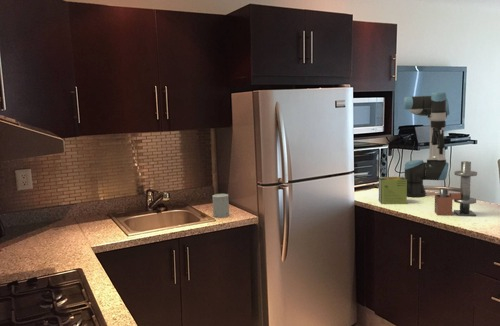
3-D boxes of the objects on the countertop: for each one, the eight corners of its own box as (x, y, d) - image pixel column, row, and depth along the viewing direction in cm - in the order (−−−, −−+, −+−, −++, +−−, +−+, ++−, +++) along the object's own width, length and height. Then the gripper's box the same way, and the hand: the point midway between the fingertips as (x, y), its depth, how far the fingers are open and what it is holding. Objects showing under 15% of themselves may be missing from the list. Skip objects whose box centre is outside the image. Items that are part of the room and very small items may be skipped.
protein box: (407, 204, 262) (407, 179, 260) (381, 204, 264) (381, 179, 262) (403, 200, 272) (403, 176, 270) (378, 200, 274) (378, 176, 272)
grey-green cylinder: (216, 218, 246) (215, 197, 244) (211, 215, 254) (210, 194, 253) (231, 216, 249) (230, 195, 248) (226, 212, 258) (225, 193, 256)
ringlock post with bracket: (433, 211, 243) (434, 160, 239) (472, 211, 239) (474, 160, 235) (438, 216, 232) (439, 163, 229) (478, 216, 228) (480, 163, 224)
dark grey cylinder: (438, 212, 239) (438, 188, 238) (446, 212, 239) (446, 188, 237) (440, 214, 236) (440, 189, 234) (447, 214, 235) (448, 189, 233)
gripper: (426, 119, 249) (425, 154, 252) (436, 122, 225) (435, 161, 228) (439, 118, 247) (439, 154, 251) (451, 121, 223) (450, 161, 227)
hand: (437, 158), depth 239 cm, fingers open, 13 cm apart
